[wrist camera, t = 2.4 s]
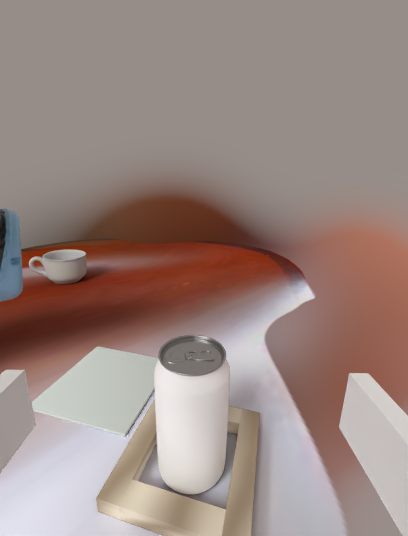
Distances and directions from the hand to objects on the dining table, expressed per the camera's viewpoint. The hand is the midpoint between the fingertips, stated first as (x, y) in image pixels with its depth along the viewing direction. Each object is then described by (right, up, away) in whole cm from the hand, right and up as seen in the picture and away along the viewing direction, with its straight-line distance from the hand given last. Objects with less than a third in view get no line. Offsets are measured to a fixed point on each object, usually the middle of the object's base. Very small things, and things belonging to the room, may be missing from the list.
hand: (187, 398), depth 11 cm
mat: (-12, -10, +24) cm, 29 cm away
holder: (0, -13, +14) cm, 19 cm away
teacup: (-40, +1, +63) cm, 74 cm away
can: (0, -13, +14) cm, 20 cm away
